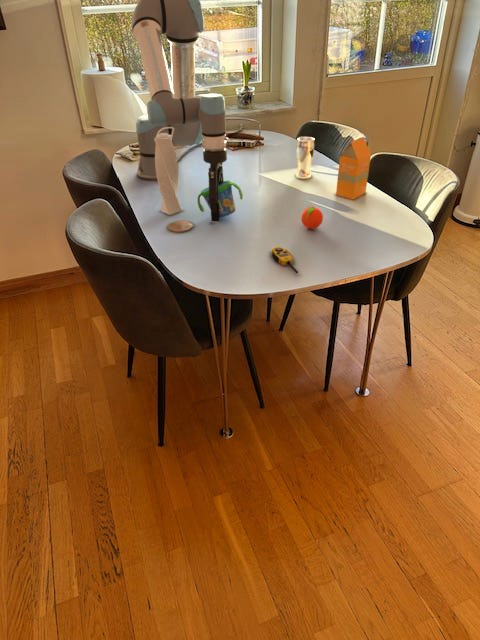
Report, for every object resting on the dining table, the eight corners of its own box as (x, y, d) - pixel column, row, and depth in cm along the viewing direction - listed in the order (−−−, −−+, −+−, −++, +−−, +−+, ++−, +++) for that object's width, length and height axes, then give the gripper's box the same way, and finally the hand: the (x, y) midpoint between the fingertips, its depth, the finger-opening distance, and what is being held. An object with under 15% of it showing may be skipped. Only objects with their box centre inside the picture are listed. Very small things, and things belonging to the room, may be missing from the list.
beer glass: (292, 178, 194) (295, 140, 185) (297, 172, 199) (300, 135, 190) (309, 180, 192) (312, 142, 183) (313, 174, 197) (316, 137, 188)
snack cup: (250, 204, 162) (240, 175, 158) (241, 213, 154) (230, 183, 150) (211, 216, 169) (201, 188, 165) (200, 225, 160) (189, 196, 156)
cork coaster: (171, 221, 161) (171, 220, 161) (194, 222, 160) (194, 221, 160) (165, 231, 154) (165, 230, 154) (189, 232, 154) (189, 231, 153)
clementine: (315, 235, 151) (317, 214, 147) (295, 230, 154) (296, 209, 150) (325, 226, 156) (327, 205, 152) (306, 221, 159) (307, 201, 155)
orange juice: (365, 193, 180) (373, 138, 168) (353, 199, 174) (360, 144, 163) (348, 188, 184) (354, 134, 172) (335, 194, 179) (341, 140, 167)
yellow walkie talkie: (283, 244, 142) (305, 267, 130) (283, 250, 143) (305, 273, 131) (268, 247, 141) (289, 270, 129) (268, 253, 142) (289, 276, 130)
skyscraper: (174, 204, 173) (166, 124, 156) (187, 210, 168) (180, 128, 152) (156, 211, 168) (146, 129, 152) (169, 217, 164) (160, 133, 147)
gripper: (221, 158, 141) (224, 228, 153) (231, 139, 158) (232, 203, 171) (196, 158, 141) (201, 228, 154) (209, 139, 159) (212, 202, 172)
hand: (217, 215), depth 163 cm, fingers closed on snack cup, 9 cm apart
